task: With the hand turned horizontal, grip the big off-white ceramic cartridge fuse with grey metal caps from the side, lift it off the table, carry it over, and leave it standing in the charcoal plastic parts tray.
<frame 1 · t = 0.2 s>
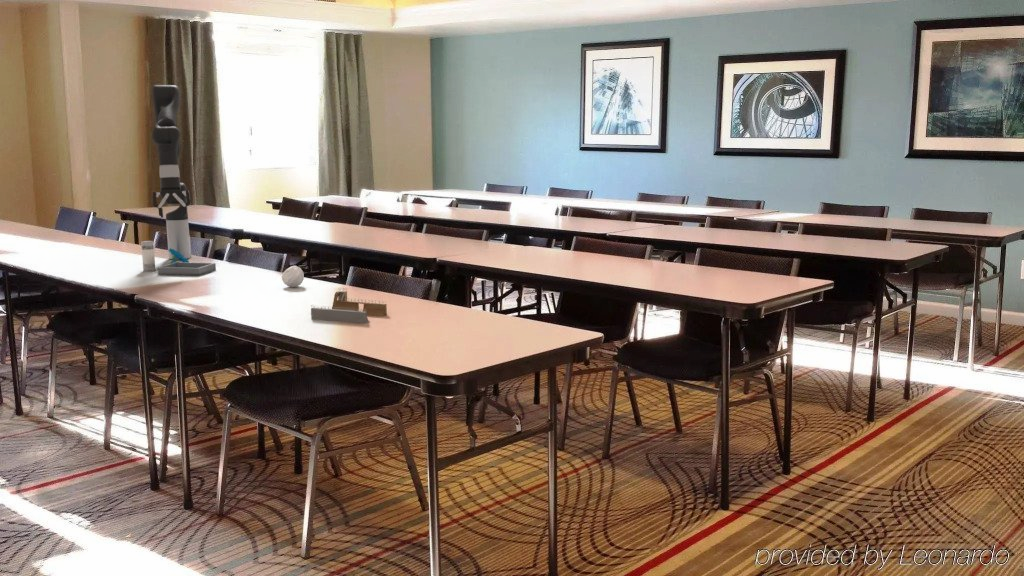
hand: (173, 216, 380), 22 cm above the table, tool pointing down, fingers open, 8 cm apart
white ball: (293, 287, 345), on the table
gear: (179, 265, 398), on the table
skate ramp: (359, 316, 298), on the table
fuse: (149, 270, 383), on the table
parts tray: (187, 272, 378), on the table
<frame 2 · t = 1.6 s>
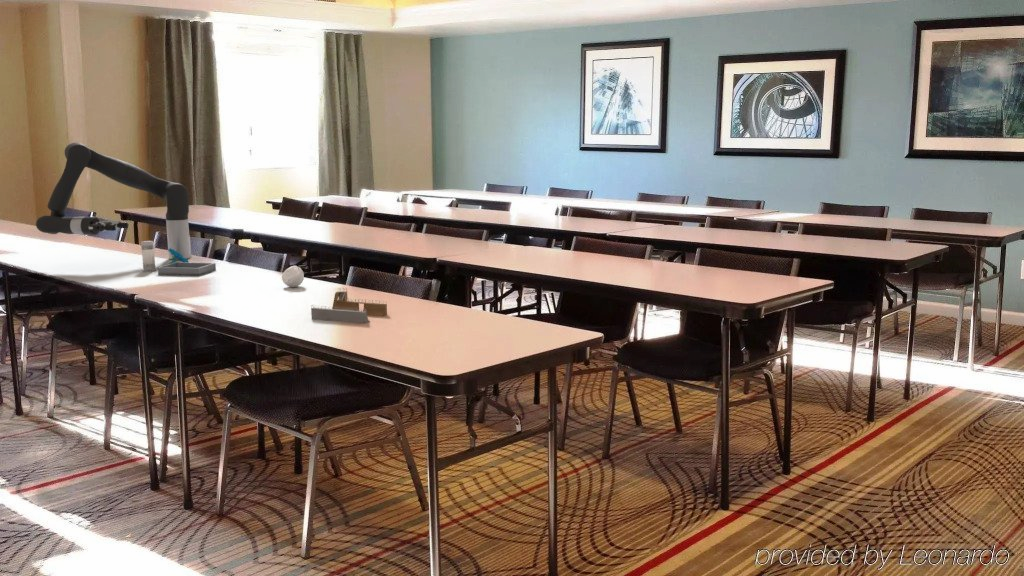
hand: (121, 226, 382), 18 cm above the table, tool horizontal, fingers open, 8 cm apart
nothing on the table moved.
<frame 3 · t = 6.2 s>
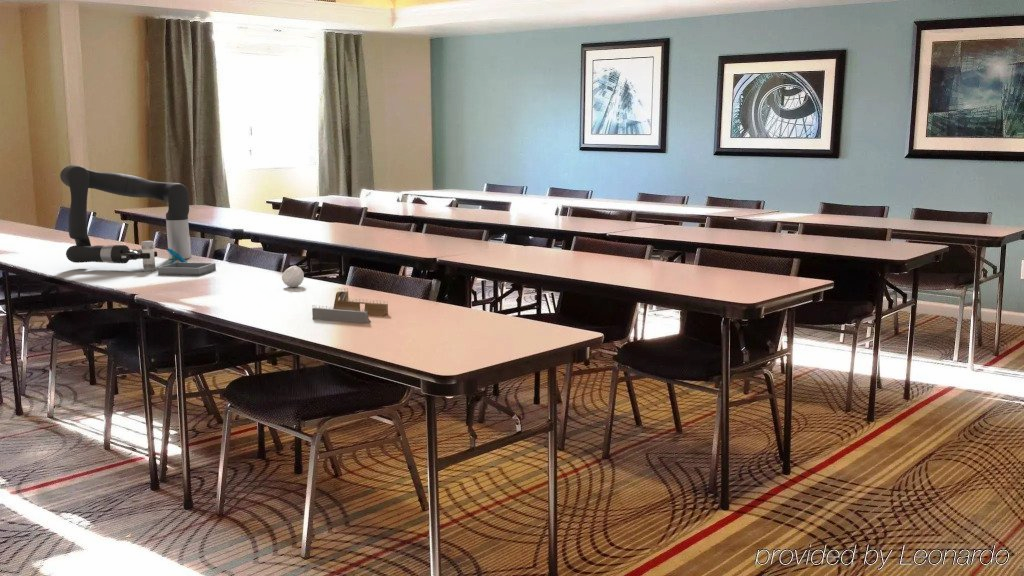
hand: (153, 255, 382), 7 cm above the table, tool horizontal, fingers closed on fuse, 4 cm apart
fuse: (149, 270, 383), on the table, touching gripper
everything else where it was.
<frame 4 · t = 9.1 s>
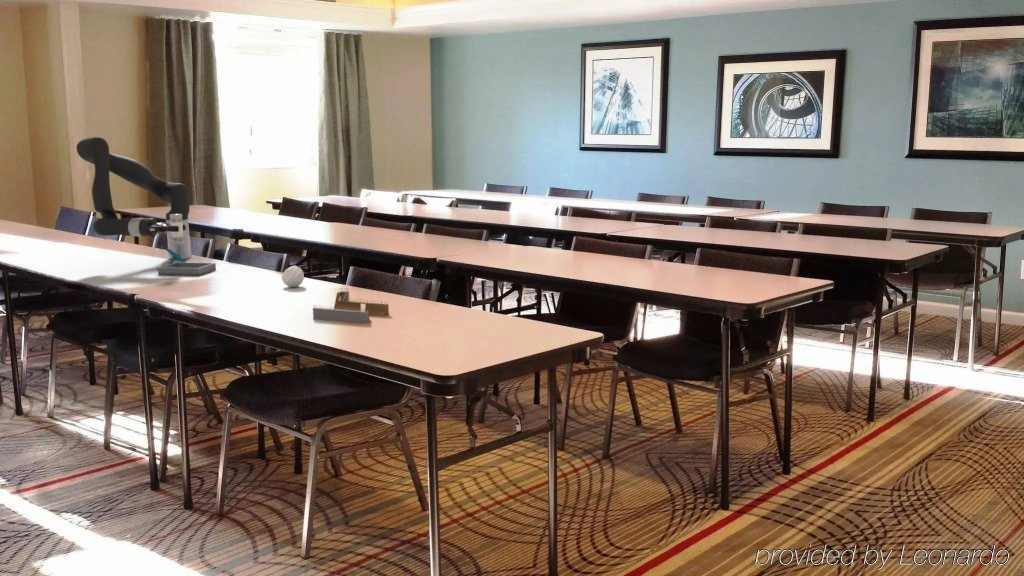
hand: (181, 228, 375), 18 cm above the table, tool horizontal, fingers closed on fuse, 4 cm apart
fuse: (177, 244, 377), point 11 cm above the table, touching gripper
everything else where it was.
when the fingers open (9 cm above the table, at t = 12.0 s): fuse drops 1 cm, resting on parts tray.
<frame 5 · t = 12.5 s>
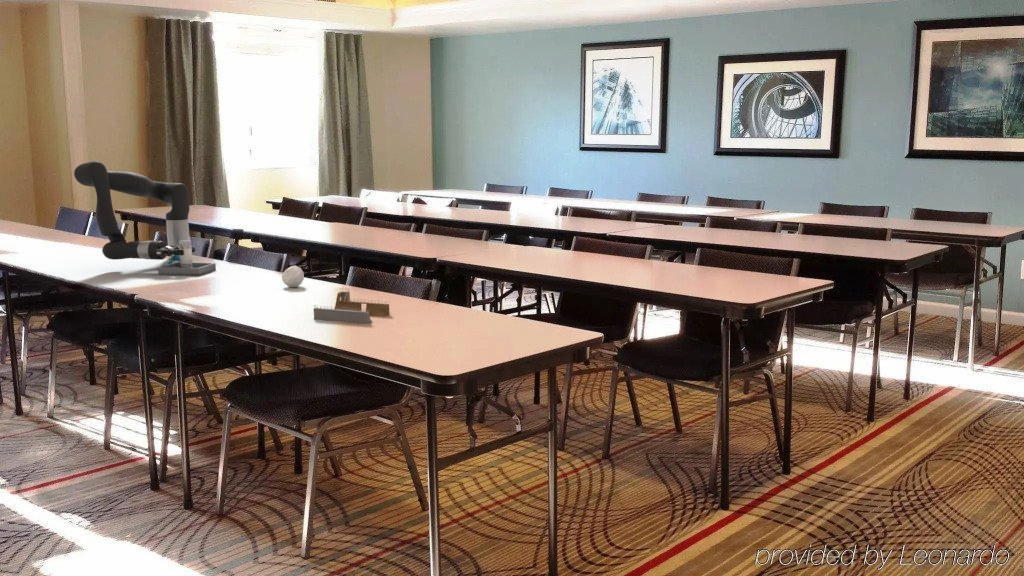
hand: (189, 250, 376), 9 cm above the table, tool horizontal, fingers open, 8 cm apart
fuse: (187, 270, 378), point 1 cm above the table, touching parts tray
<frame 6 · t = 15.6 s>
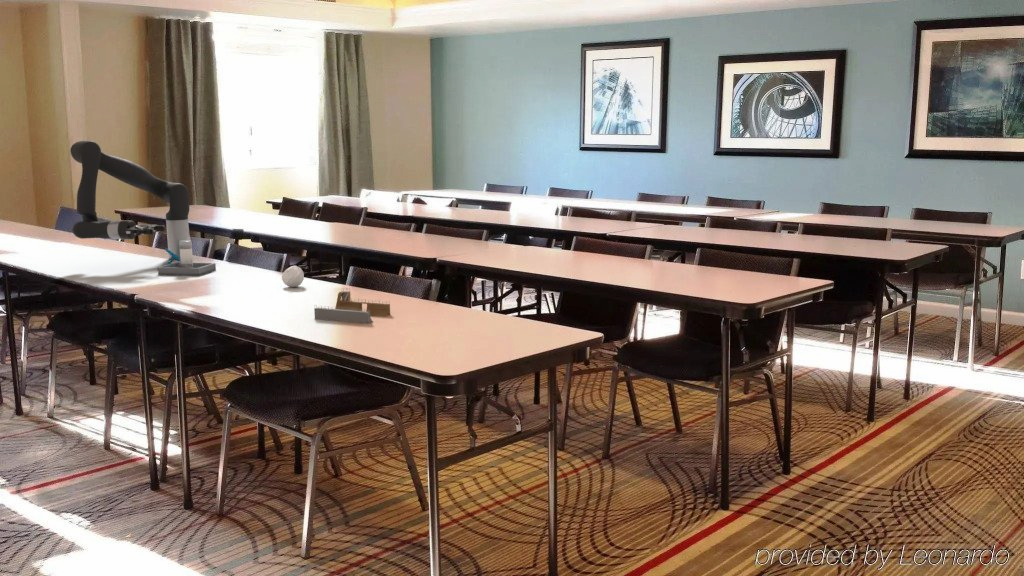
hand: (158, 229, 377), 17 cm above the table, tool horizontal, fingers open, 8 cm apart
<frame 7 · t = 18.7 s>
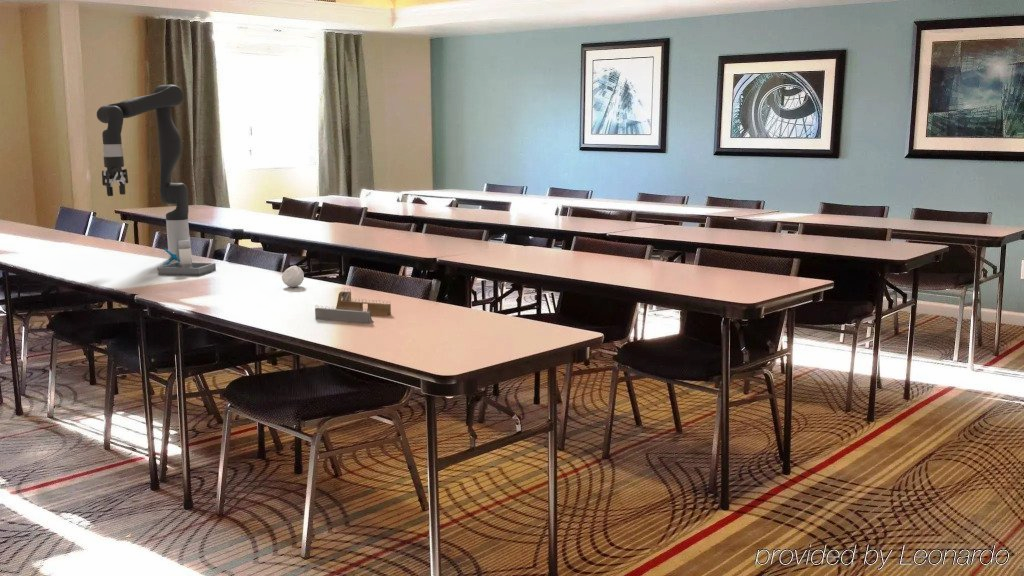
hand: (116, 195, 387), 30 cm above the table, tool pointing down, fingers open, 8 cm apart
at the end: fuse inside the target area on the parts tray (0.1 cm from its centre), point 0.9 cm above the parts tray's base; fuse tilted 2°; the gripper is holding nothing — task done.
